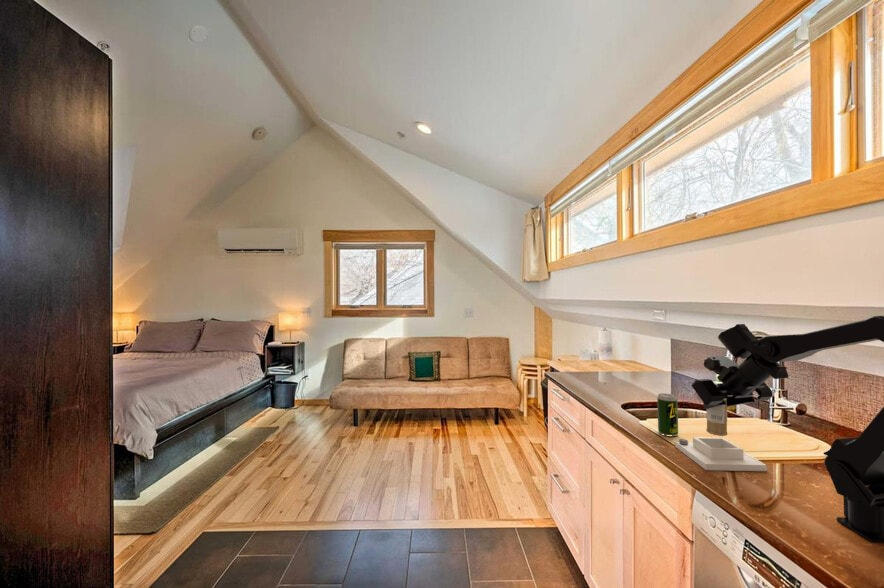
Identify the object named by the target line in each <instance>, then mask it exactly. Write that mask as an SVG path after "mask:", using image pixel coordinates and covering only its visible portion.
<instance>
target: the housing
mask: <svg viewBox="0 0 884 588" xmlns="http://www.w3.org/2000/svg"><path fill="white" fill-rule="evenodd" d="M674 446H675V448H676V449H677V450H679V451H680V452H681V453H682V454H684V455H685V456H687V457H688V458H689V459H690V460H692V461H693V462H694V463H696V464H697V465H699V467H701V468H702V469H703V470H705V471H734V472H735V471H736V472H738V471H739V472H767V469H768V468H767V464H765V463H764V462H762V461H760V460H758V459H757V458H755V457H753V456H752V455H749V454H748V453H746V452H745V451H744V449H743V448H742V447H740V446H738V445H737V444H735V443H733V442H732V441H730V440H728V439H726V438H724V437H719V436H718V437H717V436H716V437H715V436H714V437H711V436H710V437H709V436H708V437H704V436H703V437H702V436H701V437H700V436H699V437H698V436H697V437H696V436H695V437H694V436H692V441H688V440H687V439H686V438H680V439H679V441H675V442H674Z"/></svg>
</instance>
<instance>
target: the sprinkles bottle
mask: <svg viewBox="0 0 884 588" xmlns="http://www.w3.org/2000/svg"><path fill="white" fill-rule="evenodd" d="M712 381H713V380H712ZM713 382H714V383H715V385H716V386H717V384H720V383H722V381H715V380H714V381H713ZM717 387H718V386H717ZM724 401H725V403H726V405H722V406H718V407H713V408H709V409H706V429H705V430H706V432H707V433H709V434H710V435H714V436H716V437H717V436H718V437H725V436H728V410H727V409H728V407H727V399H725V400H724Z"/></svg>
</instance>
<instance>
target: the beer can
mask: <svg viewBox="0 0 884 588" xmlns="http://www.w3.org/2000/svg"><path fill="white" fill-rule="evenodd" d="M677 397H678V396H677V395H675V394H672V393H664V392H662V393H658V394H657V399H656V400H657V429H658V430H657V431H658V433H659V434H660V435H661V434H664V435H672V436H676V437H678V435H679V410H678V409H679V407H678V398H677ZM664 435H663V436H664Z"/></svg>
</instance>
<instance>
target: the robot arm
mask: <svg viewBox="0 0 884 588" xmlns="http://www.w3.org/2000/svg"><path fill="white" fill-rule="evenodd" d="M717 339H718V341H720V343H721V344H722V345H723V346H724V347H725V349H726V350H727V351H728V352H729V353H730V355H732V357H734V358H737V359H738V358H741V360H743V361H742V362H741V363H740V364H738V363H737V362H735V361H734V360H732V359H731V358H729V357H728V356H725V355H711V356H708V357H706V359H704V360H703V361H704V362H703V366H704V368H706V369H707V370H708V371H710V372H714V373H715V374H716V375H717V377H716V378H717V380H718V382H722V383H720V384H717V386H718V387H717V386H716V385H715V383H714V382H713V380H712V379H710V378H701V379H695V380H694V381H693V382H692V383H691V387H692V389H693V391H695V393H696V394H697V396H698V397H699V398H700V400H701V401H702V407H703V408H704V409H705V410H707V409H709V408H713V407H718V406H722V405H726V403H725V401H724V400H725V399H727V408H728V407H734V406H739V405H746V404H751V403H755V399H754V398H753V396H754V394H755V393H757V395H758V396H756V399H757V401H758V402H765V401H768V400H770V399H771V398H772V397H773V390H772V389H771V388H770V387H769V386H768V384H767V383H766V381H767V380H769V379H770V378H773V380H781V379H789V372H788V371H787V369H788V368H787V366H785V365H783V366H782V365H781V364H780V363H781V362H797V361H800V360H803V359H806V358H809V357H811V356H813V355H815V354H817V353H819V352H821V351H825V350H831V349H837V348H842V347H849V346H854V345H859V344H865V343H870V342H875V341H880V342H882V343H884V315H876V316H875V315H873V316H870V317H868V318H867V319H861V320H858V321H853V322H850V323H849V322H848V323H845V324H844V323H843V324H841V325H836V326H831V327H827V328H823V329H818V330H815V331H809V332H806V333H801V334H800V333H797V334H796V333H795V334H782V335H779V334H778V335H765V336H763V337H761V338H760V339H758V338H757V337H756V336H755V335H754V333H752V331H751V330H750V329H749V328H748V326H746V324H745V323H737V324H735V325H734V326H732V327H730V328H728V329H726V330H724V331H721V332H720V333H719V335H718V336H717ZM754 391H755V393H754ZM823 455H824V456H826V457H825V458H824V461H823V464H824V465H823V466H825V467H826V471H827V472H828V474H829V476H830V479H831V481H832V484H833V486H834V488H835V491H836V493H837V495H840V496H842V497H843V516H841V517H840V516H837V517H836V521H837V522H839V523H840V524H842V525H843V526H845V527H847V528H849V529H850V530H851V531H853V532H855V533H856V534H858V535H860V536H861V537H863V538H865V539H866V540H867V541H869V542H873V543H884V406H883V407H882V408H881V409H880V411H878V413H877V414H876V415H875V416H874V417H873V419H872V420H871V421H870V422H869V424H868V425H867V426H866V427H865V428H864V430H863V431H862V432H861V434H859V436H853V437H843V438H836V439H834V441H833V442H832V444H831V446H830V448H829V449H828V450H827V451H825V452H823Z"/></svg>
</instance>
